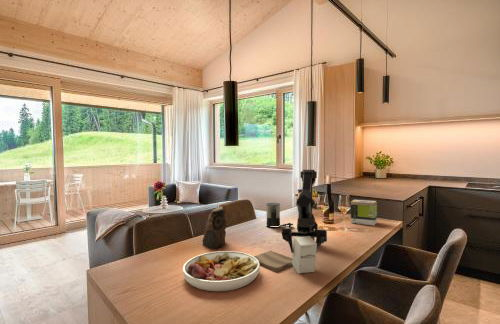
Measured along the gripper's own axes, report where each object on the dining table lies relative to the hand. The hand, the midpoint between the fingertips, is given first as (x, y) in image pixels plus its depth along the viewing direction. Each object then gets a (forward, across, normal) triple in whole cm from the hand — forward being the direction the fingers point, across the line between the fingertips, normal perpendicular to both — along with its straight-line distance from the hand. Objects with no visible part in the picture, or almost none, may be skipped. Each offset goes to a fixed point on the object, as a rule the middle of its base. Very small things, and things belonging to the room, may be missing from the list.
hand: (303, 253), depth 117 cm
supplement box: (+4, 0, +6) cm, 7 cm away
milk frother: (-42, -20, +50) cm, 68 cm away
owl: (-12, -48, +21) cm, 54 cm away
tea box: (-56, +34, +64) cm, 92 cm away
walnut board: (0, -14, +10) cm, 17 cm away
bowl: (+13, -31, -2) cm, 34 cm away
